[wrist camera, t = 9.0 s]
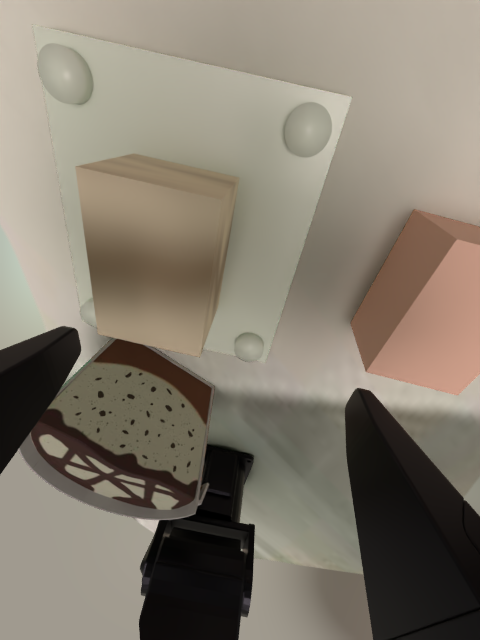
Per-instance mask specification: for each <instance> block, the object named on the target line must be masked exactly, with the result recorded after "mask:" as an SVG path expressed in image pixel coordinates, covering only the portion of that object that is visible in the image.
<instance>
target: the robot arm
mask: <svg viewBox="0 0 480 640" xmlns="http://www.w3.org/2000/svg"><path fill="white" fill-rule="evenodd" d="M80 353H81V344H80V340H79V335H78V331H77V330H76V329H75V328H71V327H66V326H61V327H58V328H56V329H53V330H51V331H48V332H46V333H43V334H41V335H38V336H36V337H33V338H30V339H28V340H25V341H23V342H20V343H18V344H15V345H13V346H10V347H7V348H5V349H2V350H0V474H1V473H2V471H3V470H4V468H5V467H6V466H7V464H8V463H9V462H10V460H11V458H12V457H13V456H14V455H15V453H16V452H17V450H18V449H19V448H20V446H21V445H22V443H23V442H24V441H25V439H26V438H27V436H28V435H29V434H30V432H31V431H32V429H33V428H34V427H35V425H36V424H37V422H38V421H39V420H40V418H41V417H42V415H43V414H44V413H45V411H46V410H47V408H48V407H49V406H50V404H51V403H52V401H53V400H54V398H55V397H56V396H57V394H58V392H59V391H60V389H61V387H62V385H63V384H64V382H65V380H66V378H67V377H68V375H69V373H70V371H71V369H72V368H73V366H74V364H75V362H76V361H77V359H78V357H79V355H80ZM345 426H346V453H347V464H348V471H349V478H350V484H351V491H352V498H353V505H354V512H355V518H356V525H357V532H358V539H359V546H360V552H361V559H362V566H363V573H364V580H365V586H366V593H367V600H368V607H369V613H370V620H371V627H372V634H373V640H480V516H479V515H478V514H477V513H476V512H475V510H474V509H473V508H472V507H471V506H470V505H469V504H468V503H467V501H465V500H464V498H463V497H462V496H461V494H460V493H459V492H458V491H457V490H456V489H455V488H454V486H453V485H452V484H451V483H450V482H449V481H448V479H447V478H446V477H445V476H444V475H443V474H442V473H441V471H440V470H439V469H438V468H437V467H436V466H435V464H434V463H433V462H432V461H431V460H430V459H429V458H428V456H427V455H426V454H425V453H424V452H423V451H422V450H421V448H420V447H419V446H418V445H417V444H416V443H415V441H414V440H413V439H412V438H411V437H410V436H409V435H408V433H407V432H406V431H405V430H404V429H403V428H402V426H401V425H400V424H399V423H398V422H397V421H396V420H395V418H394V417H393V416H392V415H391V414H390V413H389V412H388V410H387V409H386V408H385V407H384V406H383V405H382V403H381V402H380V401H379V400H378V399H377V398H376V397H375V395H374V394H373V393H372V392H371V391H369V390H365V389H361V388H357V389H355V391H354V392H353V394H352V395H351V397H350V399H349V401H348V402H347V404H346V407H345ZM253 461H254V458H253V457H252V456H250V455H246V454H242V453H237V452H233V451H228V450H224V449H220V448H215V447H211V446H206V452H205V459H204V466H203V473H202V480H201V485H203V484H206V483H209V486H208V489H207V491H206V494H205V496H204V499H203V501H202V504H201V505H198V506H197V510H196V514H194V515H191V516H188V517H184V518H180V519H172V520H159V523H158V526H157V529H156V532H155V535H154V537H153V539H152V541H151V543H150V545H149V548H148V550H147V552H146V554H145V556H144V558H143V560H142V563H141V566H140V570H141V573H142V575H143V578H142V587H141V595H143V596H145V601H144V604H143V608H142V611H141V615H140V619H139V630H140V640H238V638H239V627H240V618H241V616H243V617H247V616H248V613H249V607H250V601H251V592H252V581H253V559H254V532H255V525H254V524H249V525H248V524H243V523H240V514H241V505H242V497H243V488H244V484H245V482H246V479H247V477H248V474H249V472H250V469H251V467H252V465H253ZM241 549H243V551H241Z"/></svg>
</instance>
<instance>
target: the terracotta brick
mask: <svg viewBox="0 0 480 640" xmlns="http://www.w3.org/2000/svg"><path fill="white" fill-rule="evenodd" d="M351 327H352V330H353V333H354V336H355V339H356V342H357V345H358V348H359V352H360V355H361V358H362V361H363V364H364V367H365V370H366V372H368V373H372V374H376V375H380V376H384V377H388V378H392V379H396V380H399V381H403V382H407V383H411V384H415V385H419V386H423V387H427V388H431V389H435V390H439V391H442V392H446V393H450V394H454V395H459V394H460V393H461V392H462V391H463V390H464V389H465V388H466V387H467V386H468V385H469V384H470V383H471V382H472V381H473V380H474V379H475V378H476V377H477V376H478V375H479V374H480V227H478V226H475V225H471V224H467V223H464V222H460V221H456V220H452V219H449V218H445V217H441V216H438V215H434V214H430V213H426V212H423V211H419V210H415V209H414V210H413V212H412V214H411V216H410V217H409V219H408V221H407V223H406V225H405V226H404V228H403V230H402V232H401V234H400V235H399V237H398V239H397V241H396V243H395V244H394V246H393V248H392V250H391V251H390V253H389V255H388V257H387V259H386V260H385V262H384V264H383V266H382V268H381V269H380V271H379V273H378V275H377V277H376V278H375V280H374V282H373V284H372V286H371V287H370V289H369V291H368V293H367V294H366V296H365V298H364V300H363V302H362V303H361V305H360V307H359V309H358V311H357V312H356V314H355V316H354V318H353V320H352V321H351Z"/></svg>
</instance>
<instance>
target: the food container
mask: <svg viewBox="0 0 480 640" xmlns="http://www.w3.org/2000/svg"><path fill="white" fill-rule="evenodd" d="M214 390H215V386H214V385H212V384H211V383H209V382H207V381H206V380H204V379H203V378H201V377H200V376H198V375H196V374H195V373H193V372H192V371H190V370H189V369H187V368H185V367H184V366H182V365H181V364H179V363H178V362H176V361H174V360H173V359H171V358H170V357H168V356H167V355H165V354H163V353H162V352H160V351H159V350H157V349H156V348H154V347H152V346H147V345H143V344H139V343H134V342H130V341H125V340H121V339H117V338H112V339H111V340H110V341H109V342H108V343H107V344H106V345H105V346H104V347H103V348H102V349H101V350H99V351H98V352H97V353H96V354H95V355H94V356H93V357H92V358H91V359H90V360H89V361H88V362H87V363H86V364H85V365H84V366H83V367H82V368H81V369H80V370H79V371H78V372H77V373H76V374H74V375H73V376H72V377H71V378H70V379H69V380H68V381H67V382H66V383H65V384H64V385H63V386H62V387H61V389H60V391H59V392H58V394H57V396H56V397H55V398H54V400H53V401H52V403H51V404H50V406H49V407H48V408H47V410H46V411H45V413H44V414H43V415H42V417H41V418H40V420H39V421H38V422H37V424H36V425H35V427H34V428H33V429H32V431H31V432H30V434H29V435H28V436H27V438H26V439H25V441H24V442H23V443H22V445H21V446H20V448H19V449H18V450H19V453H20V455H21V456H22V458H23V460H24V461H25V463H26V464H27V465H28V466H29V467H30V468H31V470H32V471H33V472H35V473H36V474H37V475H38V476H39V477H40V478H42V479H43V480H44V481H45V482H46V483H48V484H49V485H51V486H52V487H54V488H55V489H57V490H58V491H60V492H62V493H64V494H66V495H67V496H69V497H71V498H74V499H76V500H78V501H80V502H82V503H84V504H87V505H89V506H92V507H95V508H98V509H101V510H104V511H107V512H110V513H114V514H118V515H122V516H127V517H132V518H139V519H148V520H172V519H180V518H184V517H188V516H191V515H194V514H196V510H197V506H198V505H201V504H202V501H203V499H204V496H205V494H206V491H207V489H208V486H209V483H206V484H203V485H201V480H202V473H203V466H204V459H205V452H206V445H207V438H208V431H209V424H210V418H211V411H212V404H213V397H214Z"/></svg>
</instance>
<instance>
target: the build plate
mask: <svg viewBox="0 0 480 640" xmlns="http://www.w3.org/2000/svg"><path fill="white" fill-rule="evenodd" d="M32 28H33V34H34V40H35V46H36V52H37V58H38V60H37V66H38V72H39V76H40V79H41V81H42V87H43V93H44V99H45V105H46V111H47V117H48V122H49V128H50V134H51V140H52V146H53V152H54V158H55V164H56V169H57V175H58V181H59V187H60V193H61V199H62V205H63V211H64V216H65V222H66V228H67V234H68V240H69V246H70V252H71V258H72V263H73V269H74V275H75V281H76V287H77V293H78V299H79V305H80V315H81V317H82V322H86V323H88V324H89V325H91V326H93V327H97V324H96V317H95V309H94V302H93V295H92V287H91V280H90V272H89V265H88V258H87V250H86V243H85V235H84V228H83V221H82V213H81V206H80V198H79V191H78V184H77V176H76V169H75V166H79V165H84V164H88V163H93V162H97V161H102V160H106V159H111V158H116V157H120V156H125V155H129V154H138V155H143V156H147V157H151V158H156V159H160V160H165V161H169V162H173V163H178V164H182V165H187V166H191V167H195V168H200V169H204V170H209V171H213V172H217V173H222V174H226V175H230V176H235V177H239V184H238V190H237V196H236V202H235V208H234V214H233V220H232V226H231V232H230V238H229V244H228V250H227V256H226V262H225V268H224V274H223V280H222V286H221V292H220V298H219V304H218V309H217V311H216V314H215V317H214V320H213V322H212V325H211V328H210V331H209V333H208V336H207V339H206V342H205V345H204V347H203V349H205V350H209V351H214V352H218V353H223V354H227V355H231V356H236V357H238V358H239V359H241V360H243V361H247V362H253V361H258V362H262V363H266V360H267V357H268V354H269V350H270V347H271V344H272V341H273V338H274V335H275V332H276V329H277V326H278V323H279V320H280V317H281V314H282V311H283V308H284V305H285V302H286V299H287V295H288V292H289V289H290V286H291V283H292V280H293V277H294V274H295V271H296V268H297V265H298V262H299V259H300V256H301V253H302V250H303V247H304V243H305V240H306V237H307V234H308V231H309V228H310V225H311V222H312V219H313V216H314V213H315V210H316V207H317V204H318V201H319V198H320V195H321V191H322V188H323V185H324V182H325V179H326V176H327V173H328V170H329V167H330V164H331V161H332V158H333V155H334V152H335V149H336V146H337V143H338V140H339V136H340V133H341V130H342V127H343V124H344V121H345V118H346V115H347V112H348V109H349V106H350V103H351V100H352V97H350V96H346V95H342V94H337V93H333V92H328V91H324V90H320V89H315V88H311V87H307V86H302V85H298V84H293V83H289V82H285V81H280V80H276V79H271V78H267V77H263V76H258V75H254V74H249V73H245V72H241V71H236V70H232V69H227V68H223V67H219V66H214V65H210V64H205V63H201V62H197V61H192V60H188V59H183V58H179V57H175V56H170V55H166V54H162V53H157V52H153V51H148V50H144V49H140V48H135V47H131V46H126V45H122V44H118V43H113V42H109V41H104V40H100V39H96V38H91V37H87V36H82V35H78V34H74V33H69V32H65V31H60V30H56V29H52V28H47V27H43V26H38V25H34V24H32Z"/></svg>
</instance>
